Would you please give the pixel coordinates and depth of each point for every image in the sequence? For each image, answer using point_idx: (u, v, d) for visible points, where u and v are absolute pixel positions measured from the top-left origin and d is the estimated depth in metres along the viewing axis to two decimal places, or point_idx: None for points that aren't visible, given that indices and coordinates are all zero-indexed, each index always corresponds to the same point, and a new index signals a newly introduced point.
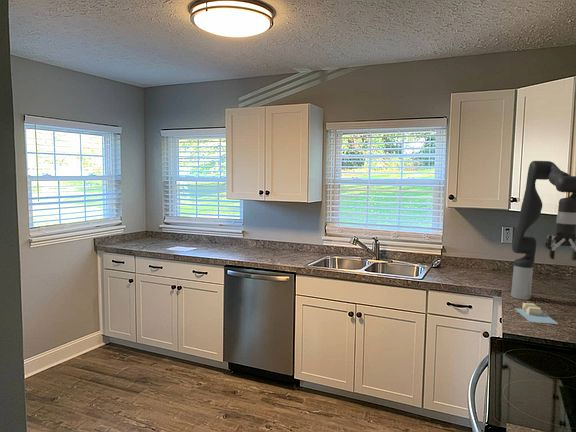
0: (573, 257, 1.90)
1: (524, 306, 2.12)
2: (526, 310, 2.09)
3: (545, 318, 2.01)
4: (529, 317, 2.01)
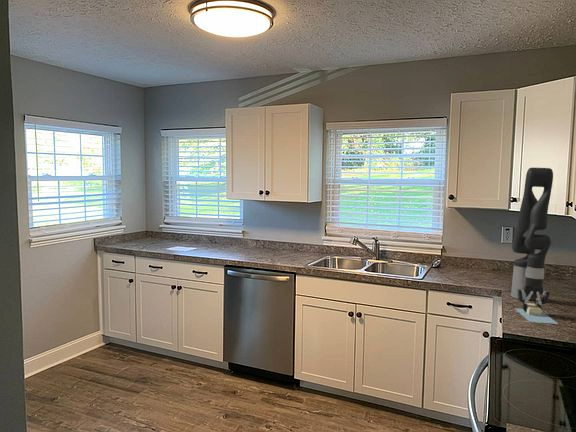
0: None
1: None
2: None
3: (545, 318, 2.01)
4: (529, 317, 2.01)
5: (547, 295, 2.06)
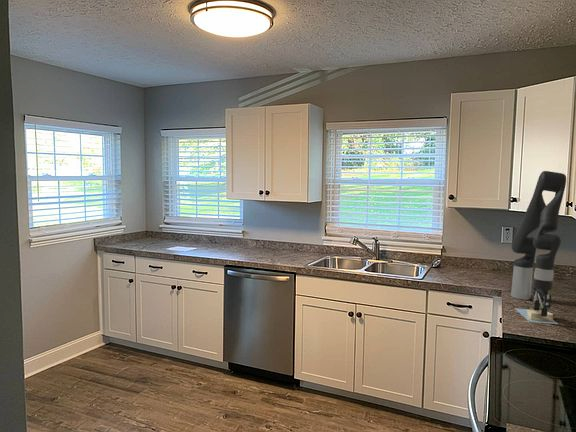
0: None
1: None
2: None
3: None
4: None
5: (544, 297, 1.93)
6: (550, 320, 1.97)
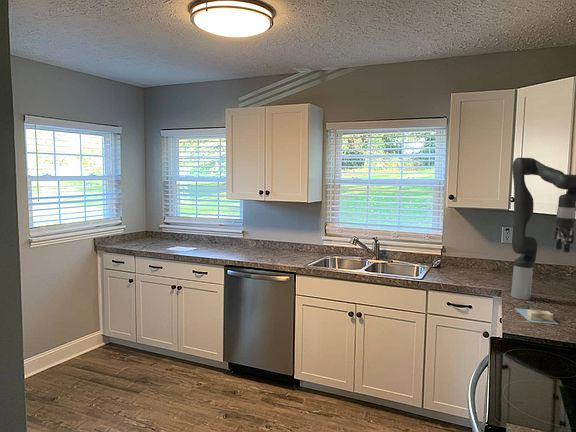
0: None
1: None
2: None
3: None
4: None
5: (567, 234, 2.02)
6: (550, 320, 1.97)
